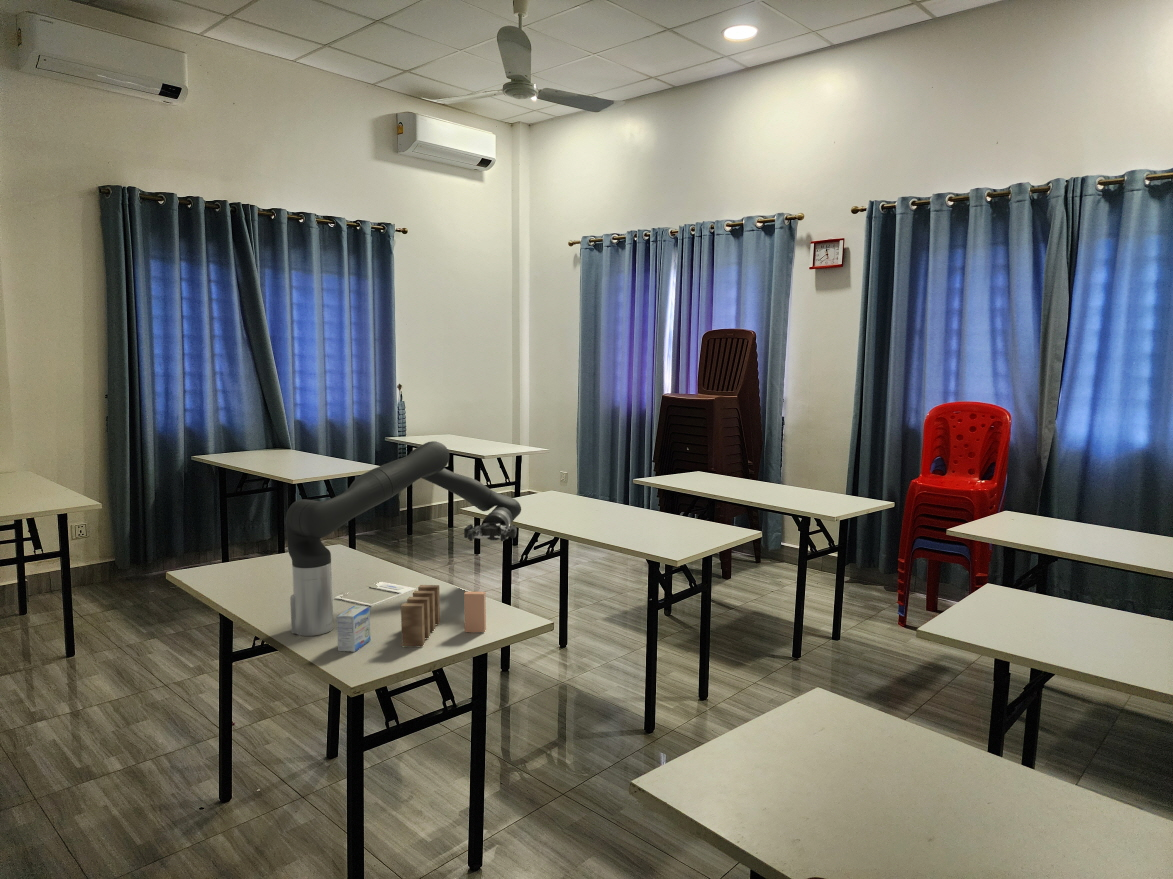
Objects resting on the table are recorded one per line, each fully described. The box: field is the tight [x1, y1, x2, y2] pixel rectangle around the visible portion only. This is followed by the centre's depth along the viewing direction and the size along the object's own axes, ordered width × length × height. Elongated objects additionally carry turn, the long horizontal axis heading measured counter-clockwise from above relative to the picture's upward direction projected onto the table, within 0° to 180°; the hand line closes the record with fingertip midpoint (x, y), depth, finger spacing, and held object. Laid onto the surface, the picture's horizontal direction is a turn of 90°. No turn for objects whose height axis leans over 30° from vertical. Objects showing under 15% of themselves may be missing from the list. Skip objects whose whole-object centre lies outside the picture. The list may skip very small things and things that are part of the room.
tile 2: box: [417, 584, 441, 625], centre depth 193 cm, size 5×2×10 cm, turn 87°
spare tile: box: [463, 590, 487, 633], centre depth 188 cm, size 5×2×10 cm, turn 87°
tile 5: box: [400, 602, 426, 647], centre depth 178 cm, size 5×2×10 cm, turn 87°
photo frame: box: [334, 581, 418, 607], centre depth 219 cm, size 15×1×18 cm
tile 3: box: [412, 590, 436, 632], centre depth 188 cm, size 5×2×10 cm, turn 87°
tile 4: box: [406, 596, 431, 639], centre depth 183 cm, size 5×2×10 cm, turn 87°
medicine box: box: [336, 605, 371, 653], centre depth 178 cm, size 8×4×9 cm, turn 168°
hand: (486, 537), depth 202 cm, fingers open, 8 cm apart
